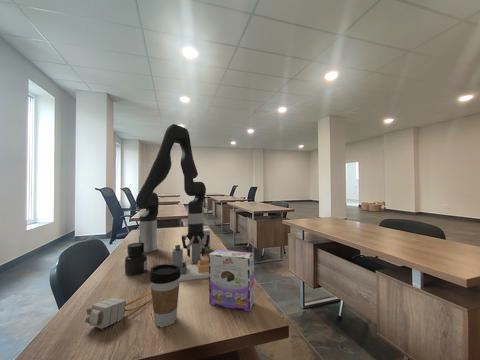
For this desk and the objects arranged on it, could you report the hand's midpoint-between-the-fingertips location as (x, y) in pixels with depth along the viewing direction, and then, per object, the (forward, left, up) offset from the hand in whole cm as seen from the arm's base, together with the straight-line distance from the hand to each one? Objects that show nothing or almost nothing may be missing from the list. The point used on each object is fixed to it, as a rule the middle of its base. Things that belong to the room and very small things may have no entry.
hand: (195, 255), depth 111 cm
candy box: (+10, -42, -3) cm, 43 cm away
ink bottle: (-26, -7, -3) cm, 27 cm away
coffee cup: (-10, -46, -3) cm, 47 cm away
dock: (-2, -15, -3) cm, 15 cm away
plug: (0, 0, -3) cm, 3 cm away
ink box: (+4, +16, -3) cm, 17 cm away
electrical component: (-22, -37, -3) cm, 43 cm away
